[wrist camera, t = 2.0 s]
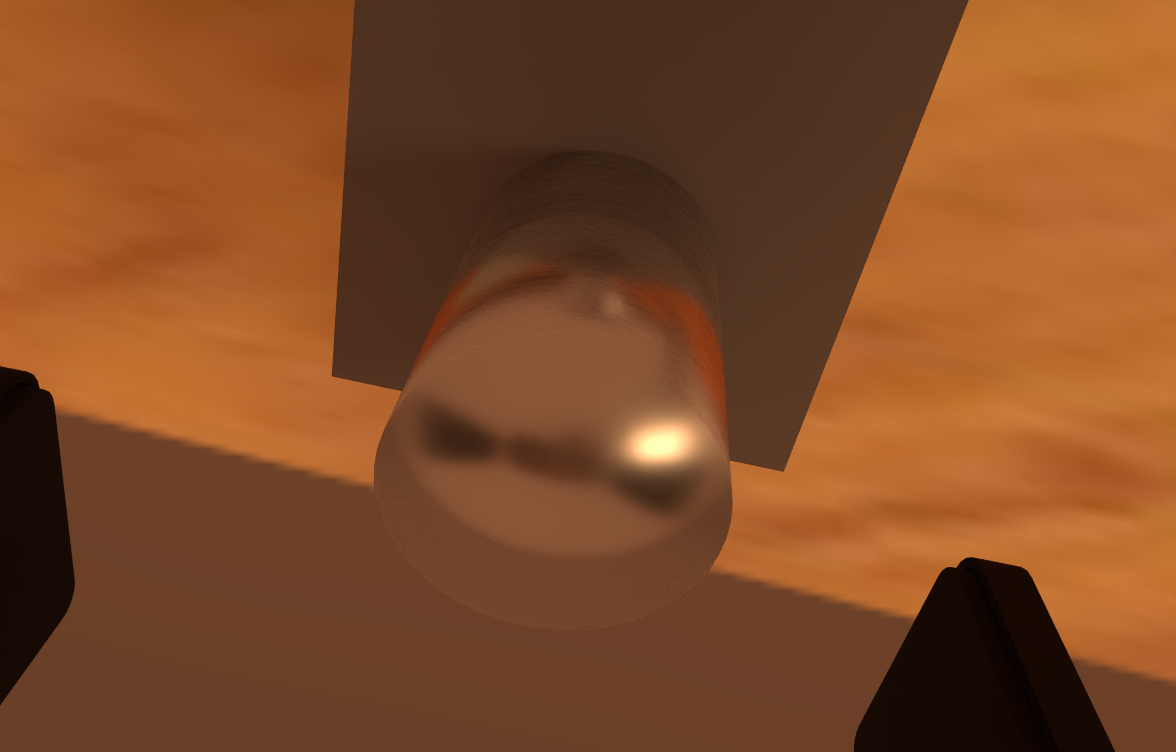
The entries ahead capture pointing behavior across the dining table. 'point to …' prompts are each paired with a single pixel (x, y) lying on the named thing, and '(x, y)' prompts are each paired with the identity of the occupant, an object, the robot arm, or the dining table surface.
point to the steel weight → (568, 405)
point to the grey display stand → (650, 134)
